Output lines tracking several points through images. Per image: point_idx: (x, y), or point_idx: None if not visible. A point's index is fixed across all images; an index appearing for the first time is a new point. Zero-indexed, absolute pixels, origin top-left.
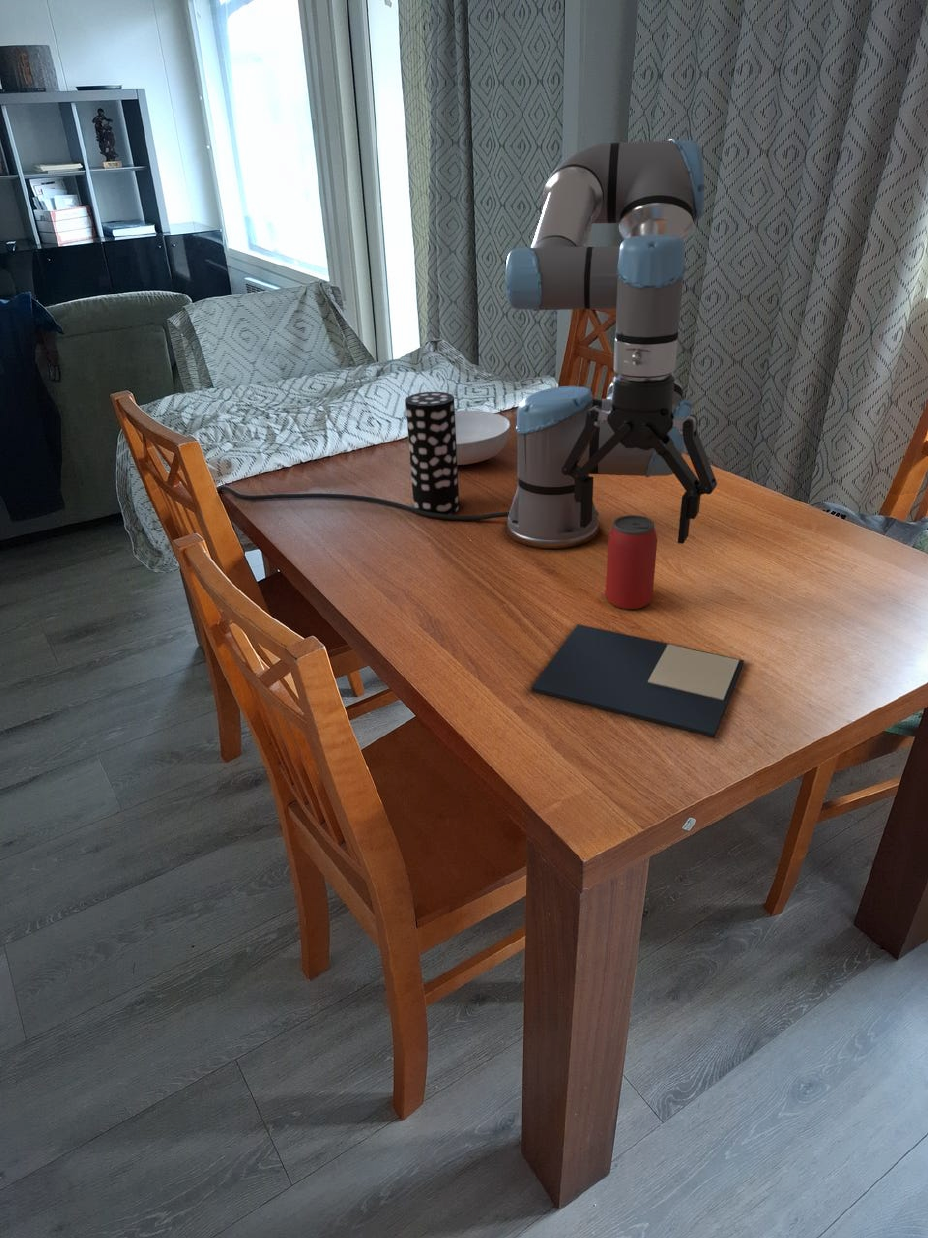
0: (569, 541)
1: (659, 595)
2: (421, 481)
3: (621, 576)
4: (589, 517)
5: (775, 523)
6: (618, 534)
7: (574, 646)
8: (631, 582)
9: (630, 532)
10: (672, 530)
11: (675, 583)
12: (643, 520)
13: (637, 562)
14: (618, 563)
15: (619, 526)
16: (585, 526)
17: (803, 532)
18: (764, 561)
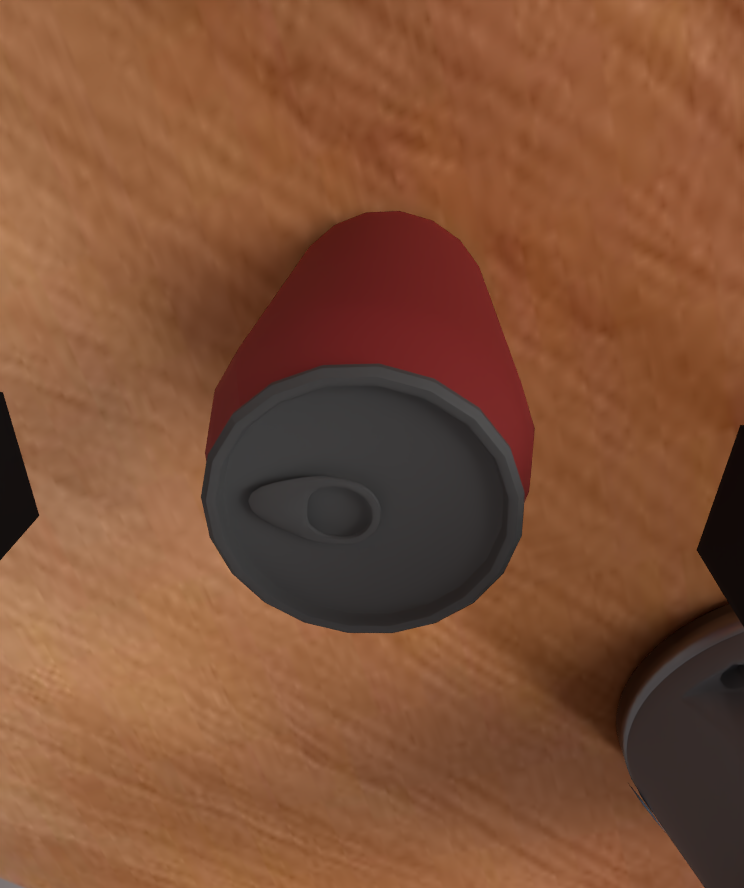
0: (716, 631)
1: None
2: None
3: (396, 244)
4: (733, 535)
5: (132, 847)
6: (445, 366)
7: None
8: (340, 243)
9: (336, 365)
10: (380, 774)
11: None
12: (321, 595)
13: (299, 285)
14: (420, 270)
15: (462, 464)
16: (742, 436)
17: (49, 823)
18: (67, 679)
